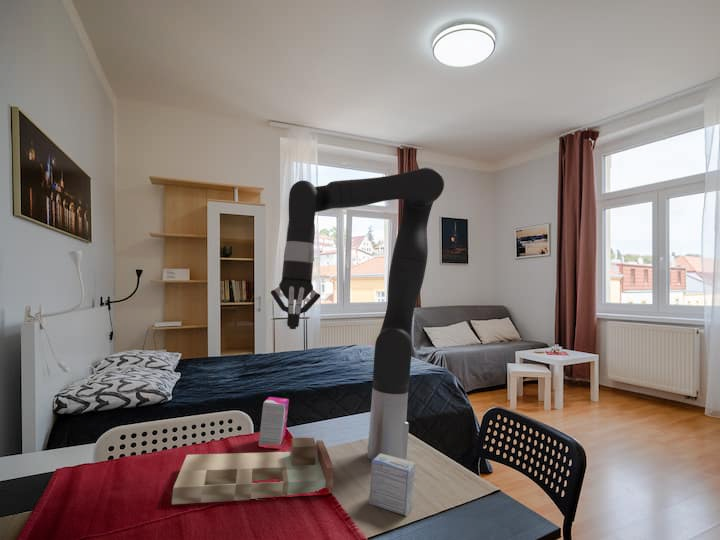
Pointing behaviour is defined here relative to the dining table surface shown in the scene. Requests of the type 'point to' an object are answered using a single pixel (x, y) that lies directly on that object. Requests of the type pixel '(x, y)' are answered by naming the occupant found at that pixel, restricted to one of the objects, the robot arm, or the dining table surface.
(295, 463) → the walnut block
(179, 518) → the dining table surface
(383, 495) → the medicine box
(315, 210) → the robot arm
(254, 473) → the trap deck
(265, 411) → the supplement box
